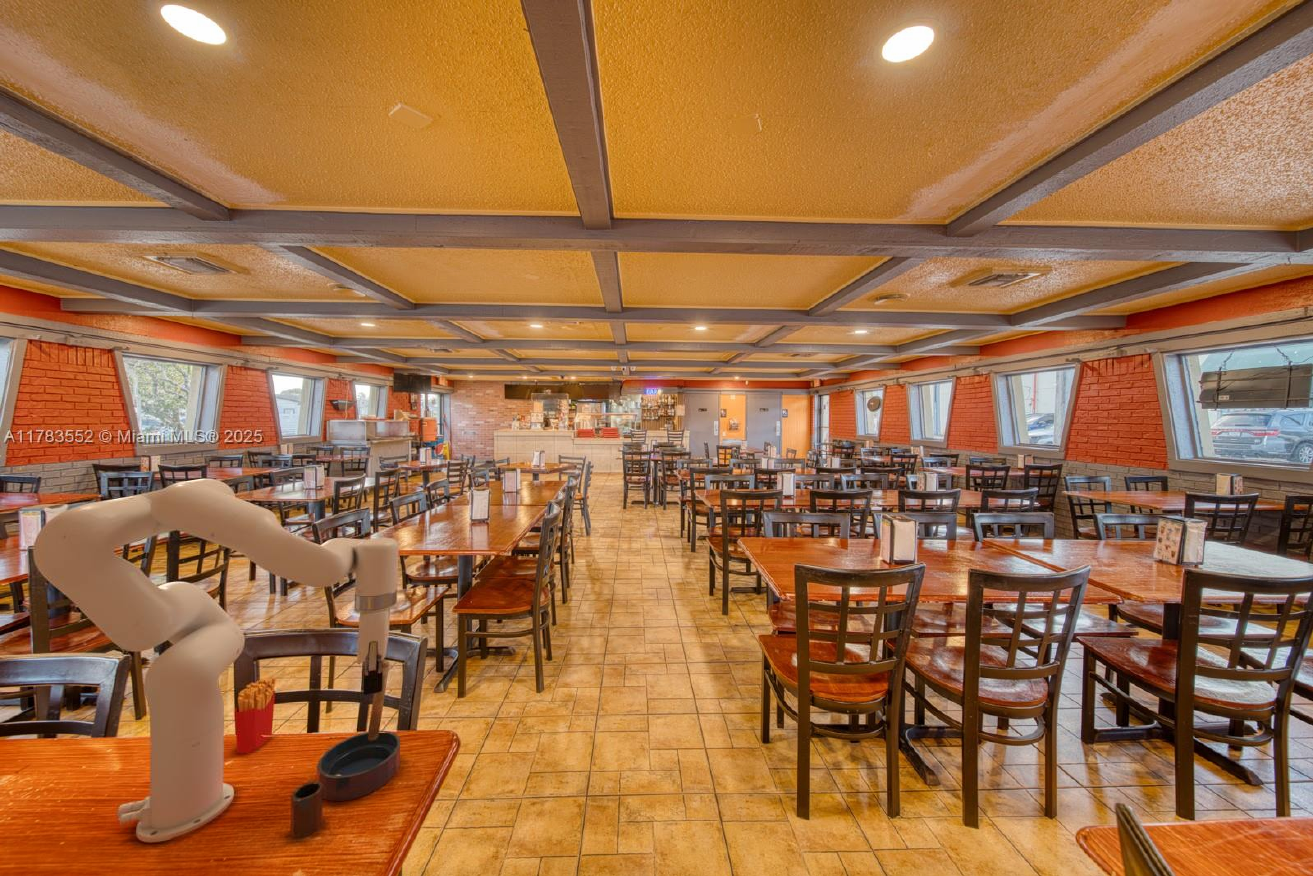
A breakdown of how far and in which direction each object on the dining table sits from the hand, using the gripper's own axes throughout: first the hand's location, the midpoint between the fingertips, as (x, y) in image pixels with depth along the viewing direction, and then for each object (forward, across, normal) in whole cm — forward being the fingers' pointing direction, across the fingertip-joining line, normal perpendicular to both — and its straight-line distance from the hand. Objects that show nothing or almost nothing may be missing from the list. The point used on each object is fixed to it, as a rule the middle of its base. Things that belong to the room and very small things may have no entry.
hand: (373, 688), depth 96 cm
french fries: (+18, -23, -24) cm, 38 cm away
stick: (+10, 0, 0) cm, 10 cm away
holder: (+18, +11, -9) cm, 23 cm away
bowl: (+17, 0, -2) cm, 18 cm away
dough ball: (+16, +2, -6) cm, 17 cm away
